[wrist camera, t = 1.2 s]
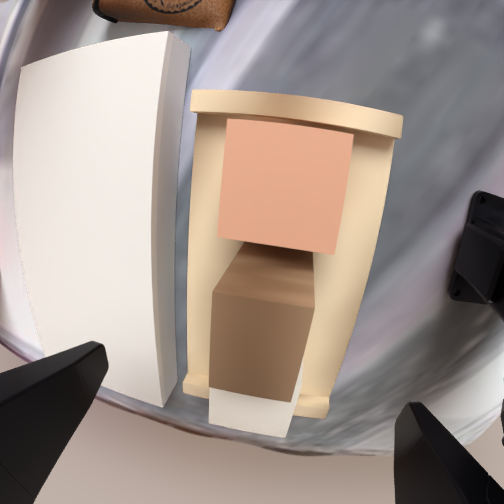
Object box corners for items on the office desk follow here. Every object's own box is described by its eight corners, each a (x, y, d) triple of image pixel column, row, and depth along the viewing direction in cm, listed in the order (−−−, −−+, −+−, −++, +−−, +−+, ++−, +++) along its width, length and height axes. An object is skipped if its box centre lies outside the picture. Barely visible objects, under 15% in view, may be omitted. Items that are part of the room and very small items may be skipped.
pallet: (385, 121, 13) (456, 100, 6) (324, 387, 19) (323, 485, 12) (212, 99, 14) (132, 64, 7) (197, 364, 20) (153, 451, 13)
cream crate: (304, 335, 16) (301, 386, 12) (291, 387, 17) (285, 437, 13) (230, 322, 16) (210, 369, 13) (226, 375, 18) (208, 423, 14)
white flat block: (191, 48, 13) (168, 30, 11) (177, 380, 21) (162, 407, 18) (51, 71, 15) (21, 67, 12) (66, 342, 22) (46, 360, 20)
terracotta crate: (339, 138, 12) (353, 134, 9) (326, 225, 14) (334, 255, 10) (249, 126, 13) (227, 118, 9) (240, 213, 14) (217, 237, 10)
